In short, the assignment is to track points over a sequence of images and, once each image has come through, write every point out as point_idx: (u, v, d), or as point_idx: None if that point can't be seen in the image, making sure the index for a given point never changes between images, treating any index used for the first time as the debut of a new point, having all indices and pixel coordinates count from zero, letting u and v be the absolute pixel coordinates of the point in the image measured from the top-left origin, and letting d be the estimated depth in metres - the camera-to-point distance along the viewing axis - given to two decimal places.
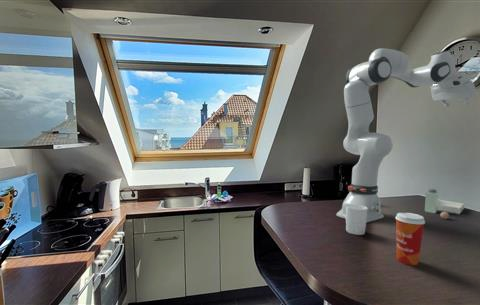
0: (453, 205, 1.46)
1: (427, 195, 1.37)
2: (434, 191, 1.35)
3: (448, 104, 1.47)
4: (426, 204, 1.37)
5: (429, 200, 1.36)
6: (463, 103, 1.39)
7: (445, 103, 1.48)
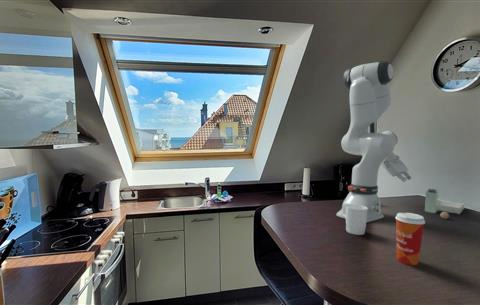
0: (453, 205, 1.46)
1: (427, 195, 1.37)
2: (434, 191, 1.35)
3: None
4: (426, 204, 1.37)
5: (429, 200, 1.36)
6: (409, 176, 1.48)
7: None
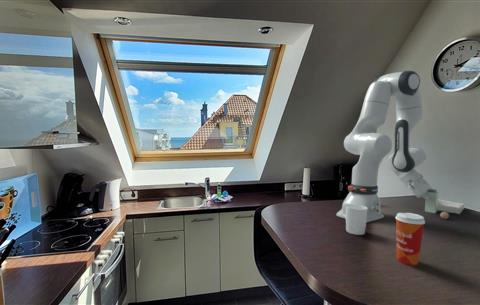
0: (453, 205, 1.46)
1: None
2: (434, 191, 1.35)
3: None
4: (426, 204, 1.37)
5: None
6: None
7: None
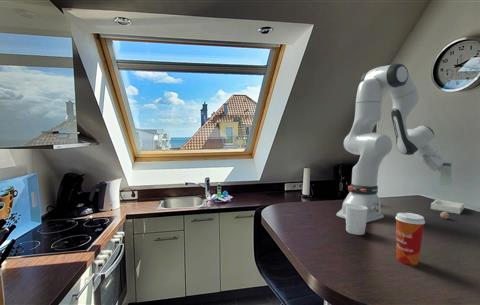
0: (453, 205, 1.46)
1: None
2: (449, 164, 1.38)
3: None
4: (441, 177, 1.40)
5: None
6: None
7: None
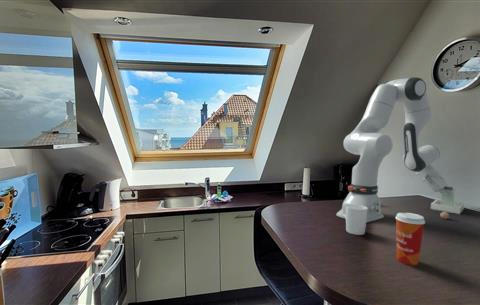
0: (453, 205, 1.46)
1: None
2: (451, 188, 1.40)
3: None
4: (443, 201, 1.42)
5: None
6: None
7: None
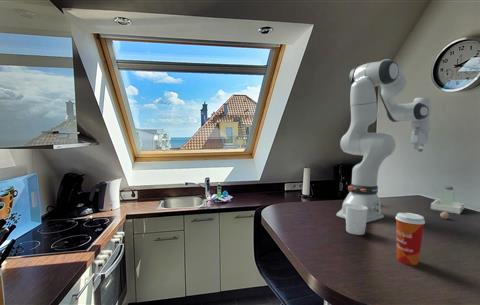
0: (453, 205, 1.46)
1: (444, 192, 1.42)
2: (451, 188, 1.40)
3: None
4: (443, 201, 1.42)
5: (446, 197, 1.41)
6: (422, 149, 1.55)
7: None
